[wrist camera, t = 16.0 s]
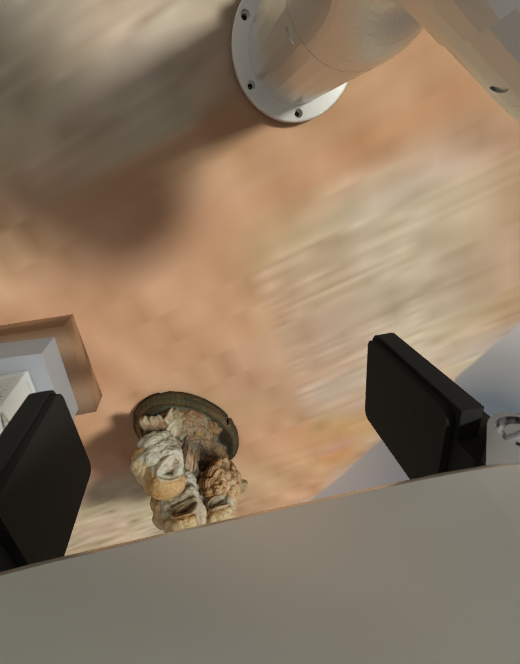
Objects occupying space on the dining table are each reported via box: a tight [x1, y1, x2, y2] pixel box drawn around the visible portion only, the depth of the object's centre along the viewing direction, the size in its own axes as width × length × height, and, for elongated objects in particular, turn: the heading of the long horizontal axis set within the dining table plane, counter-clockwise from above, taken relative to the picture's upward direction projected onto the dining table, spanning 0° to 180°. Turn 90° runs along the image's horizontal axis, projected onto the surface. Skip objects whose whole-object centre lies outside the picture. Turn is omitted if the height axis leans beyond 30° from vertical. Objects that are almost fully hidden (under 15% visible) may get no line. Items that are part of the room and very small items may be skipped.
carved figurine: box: [130, 391, 248, 533], centre depth 46 cm, size 18×12×17 cm, turn 50°
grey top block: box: [0, 337, 78, 419], centre depth 40 cm, size 10×10×4 cm
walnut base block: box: [0, 314, 102, 415], centre depth 44 cm, size 12×12×4 cm
